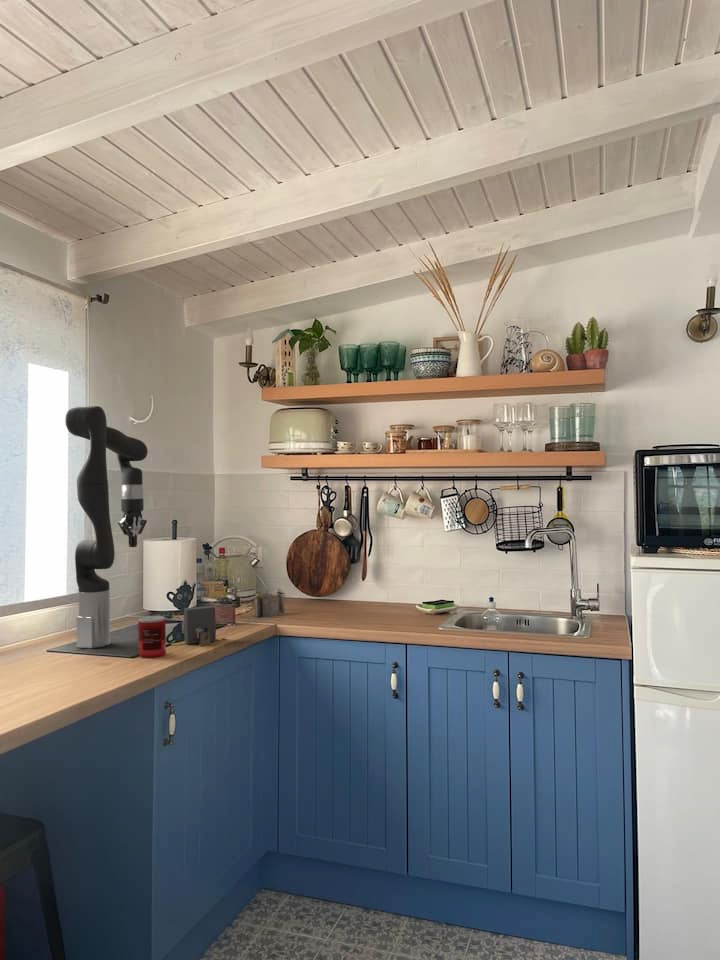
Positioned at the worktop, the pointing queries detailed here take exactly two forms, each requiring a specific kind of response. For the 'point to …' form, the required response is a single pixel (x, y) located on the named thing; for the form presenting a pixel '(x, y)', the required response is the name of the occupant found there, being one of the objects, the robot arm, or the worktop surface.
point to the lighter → (225, 611)
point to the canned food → (152, 636)
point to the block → (199, 622)
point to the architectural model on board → (269, 605)
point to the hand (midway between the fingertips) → (133, 546)
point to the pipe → (203, 637)
